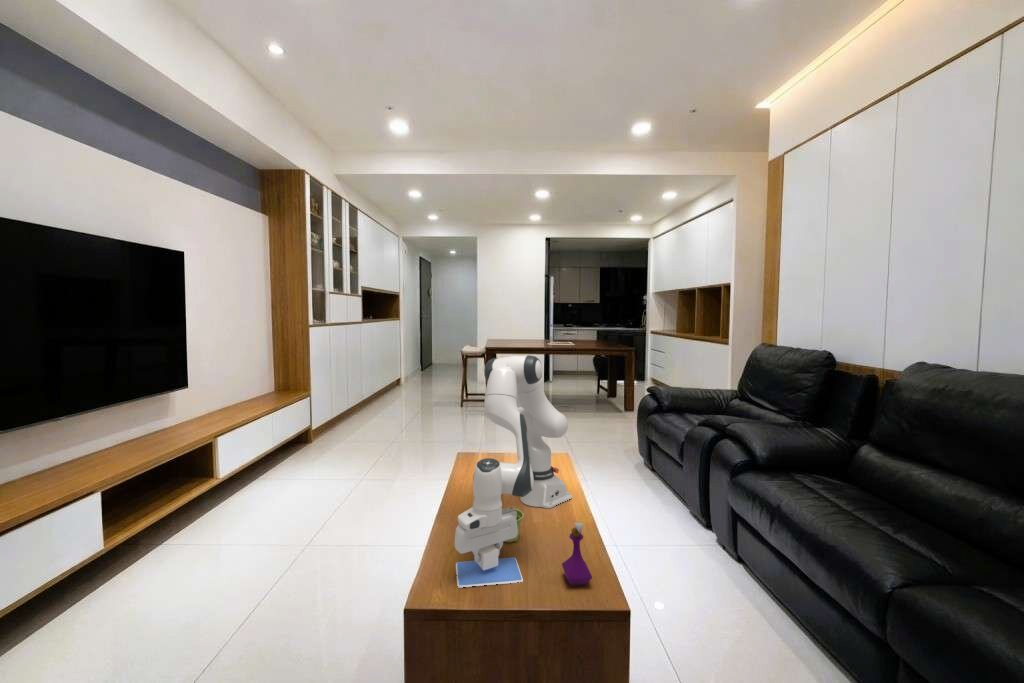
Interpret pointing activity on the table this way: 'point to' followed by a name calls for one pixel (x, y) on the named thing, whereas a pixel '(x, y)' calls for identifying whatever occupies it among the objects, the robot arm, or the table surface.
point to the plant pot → (518, 519)
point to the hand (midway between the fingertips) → (486, 558)
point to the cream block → (488, 557)
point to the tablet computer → (488, 573)
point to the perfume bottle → (576, 560)
